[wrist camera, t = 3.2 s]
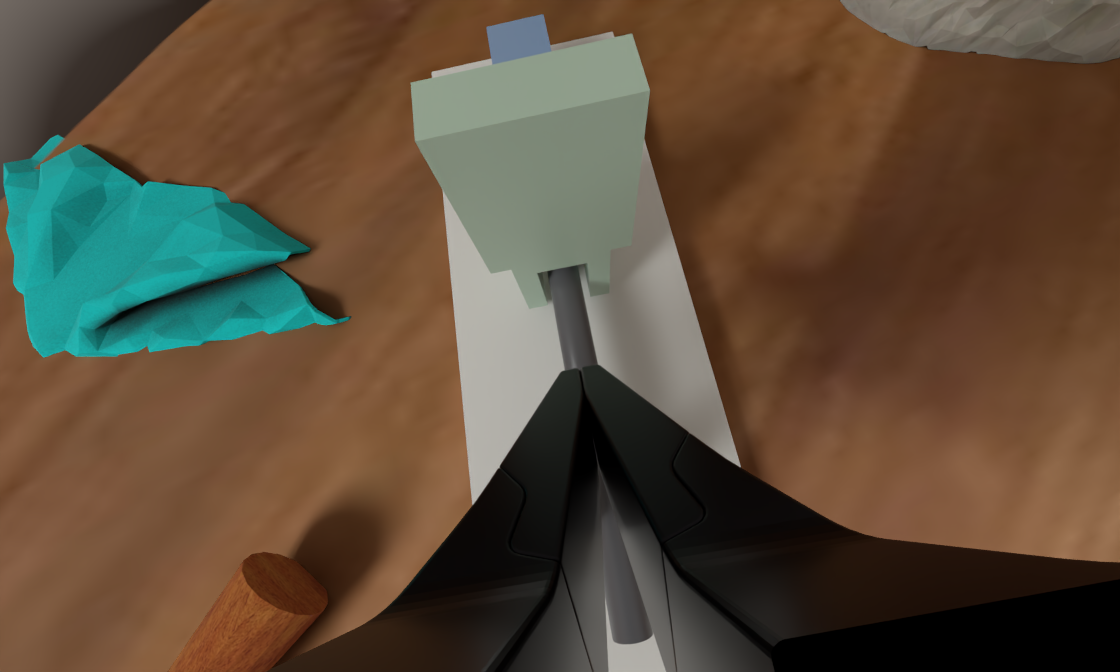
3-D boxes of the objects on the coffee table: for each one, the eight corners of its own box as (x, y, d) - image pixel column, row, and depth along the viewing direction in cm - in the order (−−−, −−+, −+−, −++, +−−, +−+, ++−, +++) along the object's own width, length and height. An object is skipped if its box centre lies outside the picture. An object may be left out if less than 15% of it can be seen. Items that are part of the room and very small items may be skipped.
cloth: (-57, 232, 25) (-119, 209, 23) (125, 80, 28) (85, 47, 26) (189, 519, 18) (134, 525, 16) (399, 282, 21) (376, 261, 19)
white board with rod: (800, 701, 14) (890, 807, 9) (503, 746, 14) (460, 867, 10) (612, 49, 23) (614, -48, 19) (438, 87, 24) (401, 2, 19)
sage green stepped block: (625, 289, 17) (650, 90, 8) (513, 312, 18) (415, 141, 8) (606, 208, 19) (608, -41, 10) (501, 230, 19) (405, 6, 10)
